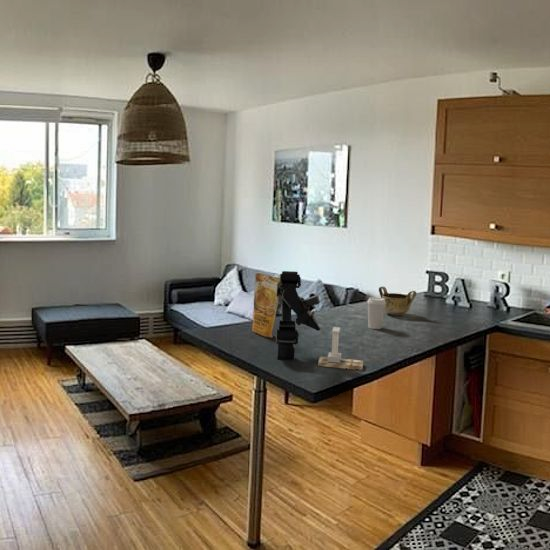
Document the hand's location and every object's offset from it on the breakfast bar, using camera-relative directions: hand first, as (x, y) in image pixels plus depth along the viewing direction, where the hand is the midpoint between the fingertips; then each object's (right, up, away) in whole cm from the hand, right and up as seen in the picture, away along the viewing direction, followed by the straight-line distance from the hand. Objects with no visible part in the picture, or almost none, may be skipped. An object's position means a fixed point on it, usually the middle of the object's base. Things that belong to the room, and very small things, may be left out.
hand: (319, 330), depth 245 cm
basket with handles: (+50, -1, +102) cm, 114 cm away
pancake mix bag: (-23, -6, +45) cm, 51 cm away
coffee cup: (+33, -5, +68) cm, 76 cm away
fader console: (+9, -14, +1) cm, 16 cm away
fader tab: (+6, -12, +1) cm, 13 cm away
